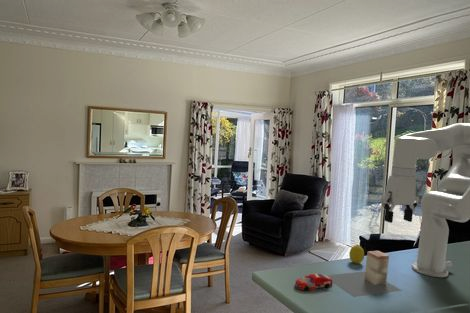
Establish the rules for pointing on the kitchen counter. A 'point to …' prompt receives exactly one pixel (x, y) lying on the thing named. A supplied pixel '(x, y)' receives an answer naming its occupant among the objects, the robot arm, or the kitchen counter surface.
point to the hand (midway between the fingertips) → (398, 221)
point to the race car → (314, 282)
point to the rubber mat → (360, 284)
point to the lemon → (356, 254)
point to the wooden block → (376, 267)
